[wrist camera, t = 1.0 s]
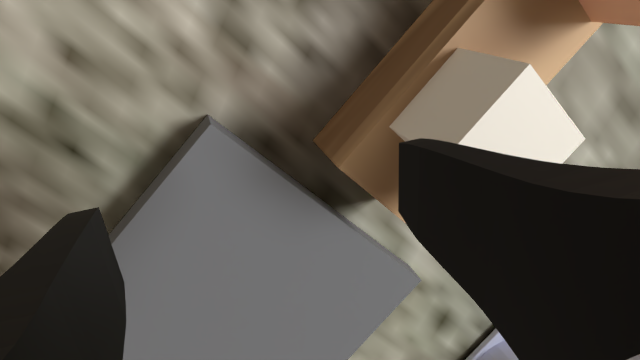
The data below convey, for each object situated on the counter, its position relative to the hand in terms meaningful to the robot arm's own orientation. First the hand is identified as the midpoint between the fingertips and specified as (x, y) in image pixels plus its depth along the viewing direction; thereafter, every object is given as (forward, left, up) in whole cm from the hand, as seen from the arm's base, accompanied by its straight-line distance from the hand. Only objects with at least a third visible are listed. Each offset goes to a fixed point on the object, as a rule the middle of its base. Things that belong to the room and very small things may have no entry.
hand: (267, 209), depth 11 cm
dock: (-7, +12, -10) cm, 17 cm away
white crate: (-7, -6, -6) cm, 11 cm away
